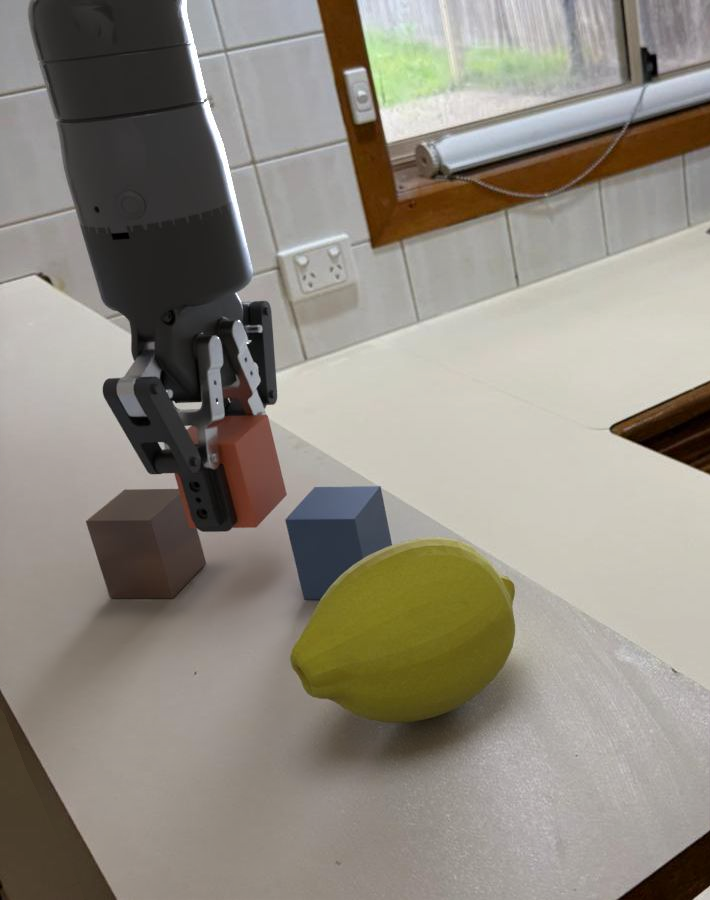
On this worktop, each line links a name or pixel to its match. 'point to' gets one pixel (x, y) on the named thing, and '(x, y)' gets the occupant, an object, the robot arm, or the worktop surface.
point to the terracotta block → (246, 468)
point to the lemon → (408, 632)
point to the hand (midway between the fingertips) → (237, 507)
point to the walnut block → (145, 544)
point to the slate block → (335, 533)
